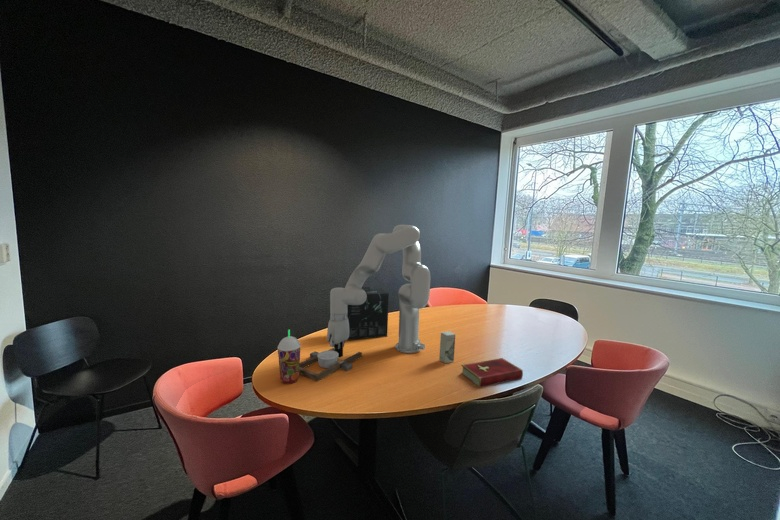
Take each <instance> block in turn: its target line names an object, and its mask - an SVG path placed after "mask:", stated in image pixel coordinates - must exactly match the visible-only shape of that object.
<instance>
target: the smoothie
mask: <svg viewBox="0 0 780 520" xmlns="http://www.w3.org/2000/svg"><path fill="white" fill-rule="evenodd" d="M301 346H302V344H301V343H300V340H299V339H297V337H295V336H292V335H291V329H287V336H286V337H283V338H282V339H281V340H280V342H279V344H278V345H277V353H278V355H277V357H278V366H279V379H280V380H281V382H282V383H283V384H294V383H295V382H297V381H298V379H299V378H300V374H299V366H300V363H301V362H300V361H301Z"/></svg>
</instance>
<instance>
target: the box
mask: <svg viewBox="0 0 780 520" xmlns="http://www.w3.org/2000/svg"><path fill="white" fill-rule="evenodd" d="M455 345H456V333H454V332H452V331H450V330H449V331H441V332H440V342H439V358H438V360H439V361H440V362H442V363H444V364H448V363H449V364H450V363H453V362H454V361H455V347H456V346H455Z"/></svg>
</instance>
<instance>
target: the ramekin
mask: <svg viewBox="0 0 780 520" xmlns="http://www.w3.org/2000/svg"><path fill="white" fill-rule="evenodd" d="M318 353H319V354H318V355H317V356H318V361H317V363H318V366H319V367H320V368H322V369H327V368H329V367H331V366H333V365H335V364H337V363H338V362H339V357H338V356H339V354H338V352H336V351H332V350H330V349H328V350H323V351H320V352H318Z"/></svg>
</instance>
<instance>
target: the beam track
mask: <svg viewBox="0 0 780 520" xmlns="http://www.w3.org/2000/svg"><path fill="white" fill-rule="evenodd" d="M329 350H332V351H335V348H334V347H331V348H330V349H329ZM319 353H320V352H319V351H313V352H311V353H309V358H308V359H306V360H304V361H302V362H300V366H299V376H303V377H306V378H308V379H310V380H313V381H315V382H318V381H320V380H322V379H324V378H326V377H328V376H330V375H332V374H333V373H335V372H337V371H338V369H339V370H342V369H343V371H345V370H346V372H348V371H350V370H352V369H353V362H355V361H357V360H359V359H360V357H361V358H362V357H363V352H361V351H358V352H356V353H355V354H352V355H350V356H348V357H346V358H345V359H341V360H338V363H337V364H335V365H333V366H331V367H329V368H324V370H322V371H320V372H318V373H316V372H313V371H312V370H308V369H306V368H307V367H309V366H311V365H313V364H315V363H318V356H317V355H318V354H319ZM358 358H359V359H358ZM356 359H357V360H356ZM308 365H309V366H308ZM340 368H341V369H340ZM336 370H337V371H336ZM329 374H330V375H329Z"/></svg>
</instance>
